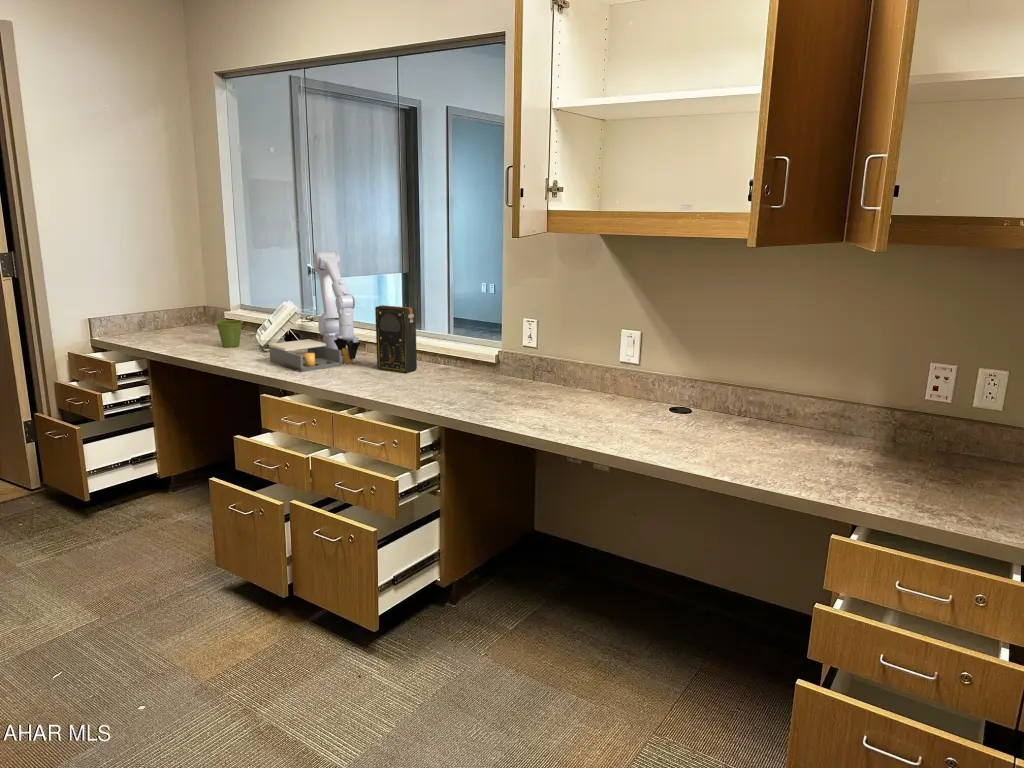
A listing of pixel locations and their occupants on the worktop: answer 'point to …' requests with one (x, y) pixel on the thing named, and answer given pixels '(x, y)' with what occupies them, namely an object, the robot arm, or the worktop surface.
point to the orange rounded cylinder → (309, 359)
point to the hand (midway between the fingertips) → (347, 357)
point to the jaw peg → (346, 356)
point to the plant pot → (229, 332)
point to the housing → (323, 359)
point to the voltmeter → (396, 338)
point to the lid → (297, 345)
